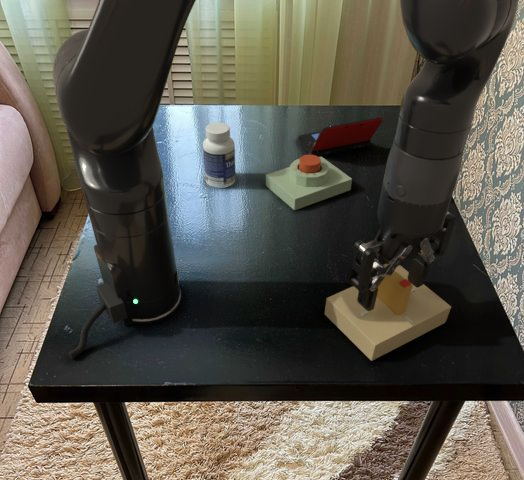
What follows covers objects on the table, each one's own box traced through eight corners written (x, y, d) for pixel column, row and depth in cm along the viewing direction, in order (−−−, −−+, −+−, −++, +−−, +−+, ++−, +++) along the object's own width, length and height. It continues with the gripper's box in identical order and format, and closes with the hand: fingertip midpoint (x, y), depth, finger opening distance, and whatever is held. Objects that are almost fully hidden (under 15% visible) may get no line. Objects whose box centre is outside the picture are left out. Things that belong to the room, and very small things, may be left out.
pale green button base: (294, 210, 90) (295, 189, 87) (265, 185, 95) (265, 164, 92) (350, 190, 94) (353, 169, 91) (320, 167, 99) (322, 146, 96)
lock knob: (372, 293, 72) (378, 265, 68) (380, 289, 72) (386, 261, 69) (397, 315, 69) (405, 287, 66) (405, 311, 70) (413, 283, 66)
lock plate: (371, 361, 68) (375, 344, 66) (324, 314, 73) (326, 297, 71) (445, 322, 73) (452, 305, 70) (395, 281, 78) (400, 264, 76)
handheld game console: (352, 130, 109) (357, 93, 103) (378, 155, 102) (385, 117, 97) (295, 140, 106) (297, 102, 100) (318, 167, 99) (322, 128, 94)
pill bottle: (231, 190, 94) (229, 137, 86) (202, 187, 94) (197, 133, 87) (238, 174, 97) (237, 122, 90) (210, 171, 98) (206, 118, 91)
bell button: (307, 176, 90) (307, 167, 89) (294, 167, 92) (295, 157, 91) (324, 171, 91) (325, 161, 90) (311, 161, 93) (312, 152, 92)
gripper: (441, 150, 62) (411, 260, 74) (344, 185, 57) (329, 298, 69) (491, 179, 58) (450, 291, 70) (391, 220, 53) (366, 333, 65)
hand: (390, 294), depth 70 cm, fingers open, 8 cm apart
